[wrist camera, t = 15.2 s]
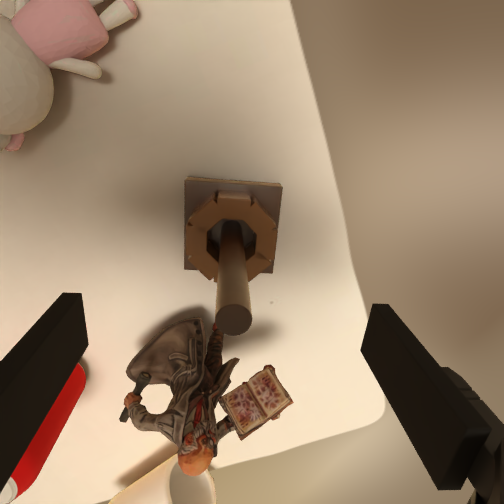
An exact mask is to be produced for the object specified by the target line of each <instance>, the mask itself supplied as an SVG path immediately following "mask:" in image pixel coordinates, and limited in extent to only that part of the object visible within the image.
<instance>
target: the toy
mask: <svg viewBox="0 0 504 504" xmlns="http://www.w3.org/2000/svg"><path fill="white" fill-rule="evenodd" d="M103 1H104V0H15V16H14V17H13V19H12V20H11V21H10V20H9V19H7V18H6V17H5V16H2V15H0V152H1V151H2V150H3V149H6V150H8V151H16V150H18V149H20V147H21V145H22V143H23V141H24V139H25V137H24V133H23V132H26V131H28V130H31V129H32V128H34V127H35V126H37V125H38V124H39V123H40V122H42V121H43V120H44V118H45V117H46V116H47V114H48V113H49V111H50V108H51V105H52V102H53V95H54V87H53V77H52V74H51V71H50V69H52V68H57V69H62V70H66V71H70V72H73V73H77V74H80V75H83V76H86V77H89V78H92V79H98V78H100V77H101V75H102V70H101V68H100V67H99V66H98V65H97V64H95V63H93V62H90V61H85V60H82V59H84V58H86V57H89V56H90V55H92V54H93V53H95V52H97V51H98V50H100V49H101V48H102V47H104V46H105V45H106V44H107V42H108V39H109V36H108V32H107V31H108V30H111V29H113V28H115V27H117V26H119V25H121V24H123V23H125V22H127V21H128V20H130V19H135V18H136V17H137V7H136V5H135V3H134V1H133V0H116V1H115V2H113V3H112V4H111V5H110V6H109V7H108V8H107V9H106V10H104V11H103V12H102V13H101V14H100V15H99V16H98V15H97V13H96V11H95V10H94V8H93V7H94V6H96V5H97V4H99V3H101V2H103Z"/></svg>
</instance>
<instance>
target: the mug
mask: <svg viewBox="0 0 504 504" xmlns="http://www.w3.org/2000/svg"><path fill="white" fill-rule="evenodd" d="M109 504H217V498H216V491H215V487H214V479H213V477H212V476H211V475H210V473H209V471H208V469H206V470H205V471H204V472H203V473H202V474H200V475H197V476H189V475H187V474H185V473H183V471H182V470H181V468H180V466H179V464H178V454H175V455H174V456H172V457H171V458H169V459H168V460H166V461H165V462H163V463H162V464H160V465H159V466H158V467H156V468H155V469H153V470H152V471H150V472H149V473H147V474H146V475H144V476H143V477H141V478H140V479H139V480H137V481H136V482H134V483H133V484H131V485H130V486H128V487H127V488H125V489H124V490H122V491H121V492H119V493H118V494H117V495H115V496H114V497H113V498H112V500H111V501H110V502H109Z"/></svg>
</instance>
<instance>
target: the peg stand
mask: <svg viewBox="0 0 504 504" xmlns="http://www.w3.org/2000/svg"><path fill="white" fill-rule="evenodd" d="M282 189H283V187H282V186H281V184H279V183H265V182H251V181H237V180H223V179H209V178H195V177H187V178H186V179H185V230H184V269H185V270H198V269H197V268H196V267H195V266H194V265H193V264H192V263H191V262H190V261H189V260H188V258H189V255H186V225H187V222H188V220H189V217H190V215H191V213H192V210H193V209H194V208H195V207H197V206H198V205H199V204H200V203H201V202H202V201H203V200H204V199H206V198H207V197H208V196H209V195H210V194H211V193H212V192H216V193H217V195H218V190H234V191H248V192H249V195H250V196H251V195H252V194H254V195H255V196H256V198H257V199H258V200H259V201H260V202H261V203H262V204H263V206H264V207H265V208H266V209H267V210H268V211H269V213H270V214H271V215H272V217H273V220H274V222H275V224H276V228H277V230H278V223H279V215H280V206H281V198H282ZM209 239H210V240H211V241H212V242H213V243H214V244H215V245H216V246H217V247H218V248H219V249H220V252H219V267H218V281H217V296H216V310H215V324H216V326H217V328H218V329H219V330H220V331H221V332H222V333H224V334H227V335H231V336H235V335H240V334H242V333H244V332H246V331H247V330H248V329H249V328H250V326H251V324H252V311H251V303H250V294H249V285H248V277H247V268H246V259H245V251H244V247H246V246H247V245H248V244H249V243H251V242H252V241H253V230H252V229H251V228H250V227H249V226H248V225H247V224H246V222H245V221H244V220H234V219H222V220H221V221H219V222H218V223H217V224H216V225H215V226H214V227H212V228H211V229H210V230H209ZM271 263H272V264H271V265H270V266H268V267H267V268H266V269H265V270H263V271H262V272H261V273H273V265H274V260H271Z"/></svg>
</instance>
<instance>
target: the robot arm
mask: <svg viewBox="0 0 504 504" xmlns="http://www.w3.org/2000/svg"><path fill="white" fill-rule="evenodd" d="M88 345H89V344H88V337H87V330H86V322H85V315H84V308H83V300H82V293H62V294H61V295H60V296H59V297H58V299H57V300H56V301H55V302H54V303H53V304H52V305H51V306H50V307H49V309H48V310H47V311H46V312H45V313H44V314H43V315H42V316H41V317H40V319H39V320H38V321H37V322H36V323H35V324H34V325H33V326H32V327H31V328H30V330H29V331H28V332H27V333H26V334H25V335H24V336H23V337H22V338H21V340H20V341H19V342H18V343H17V344H16V345H15V346H14V347H13V348H12V349H11V351H10V352H9V353H8V354H7V355H6V356H5V357H4V358H3V359H2V361H0V493H1V492H2V490H3V488H4V487H5V485H6V483H7V482H8V480H9V478H10V477H11V475H12V473H13V472H14V470H15V468H16V466H17V465H18V463H19V461H20V460H21V458H22V456H23V455H24V453H25V451H26V450H27V448H28V446H29V445H30V443H31V441H32V439H33V438H34V436H35V434H36V433H37V431H38V429H39V428H40V426H41V424H42V423H43V421H44V419H45V418H46V416H47V414H48V412H49V411H50V409H51V407H52V406H53V404H54V402H55V401H56V399H57V397H58V396H59V394H60V392H61V391H62V389H63V387H64V385H65V384H66V382H67V380H68V379H69V377H70V375H71V374H72V372H73V370H74V369H75V367H76V365H77V364H78V362H79V360H80V358H81V357H82V355H83V353H84V352H85V350H86V348H87V347H88ZM360 351H361V353H362V354H363V356H364V358H365V360H366V362H367V363H368V365H369V367H370V369H371V371H372V372H373V374H374V376H375V378H376V380H377V381H378V383H379V385H380V387H381V389H382V390H383V392H384V394H385V396H386V398H387V399H388V401H389V403H390V404H391V407H392V408H393V410H394V412H395V414H396V415H397V417H398V419H399V421H400V423H401V425H402V426H403V428H404V430H405V432H406V433H407V435H408V437H409V439H410V441H411V442H412V444H413V446H414V448H415V450H416V451H417V453H418V455H419V457H420V458H421V460H422V462H423V464H424V466H425V468H426V469H427V471H428V473H429V475H430V476H431V478H432V480H433V482H434V484H435V486H436V487H437V489H438V490H461V488H462V486H463V484H464V482H465V480H466V478H467V477H468V479H469V480H470V482H471V483H472V485H473V487H474V488H475V490H474V492H473V494H472V496H471V497H470V499H469V501H468V503H467V504H504V424H503V423H502V422H501V421H500V420H499V419H498V418H497V416H496V415H495V414H494V413H493V412H492V411H491V410H490V408H489V407H488V406H487V405H486V404H485V403H484V402H483V401H482V400H480V397H479V396H478V395H477V394H476V393H475V391H472V388H471V387H470V386H469V385H468V383H467V382H466V381H465V380H464V379H463V378H462V377H461V376H460V375H458V374H457V373H456V372H454V371H453V370H451V369H450V368H448V367H440V366H439V364H438V363H437V362H436V361H435V360H434V358H433V357H432V356H431V355H430V354H429V353H428V351H427V350H426V349H425V348H424V346H423V345H422V344H421V343H420V342H419V340H418V339H417V338H416V337H415V336H414V334H413V333H412V332H411V331H410V330H409V328H408V327H407V326H406V325H405V324H404V323H403V321H402V320H401V319H400V318H399V317H398V315H397V314H396V313H395V312H394V310H393V309H392V308H391V307H390V306H389V304H373V305H372V308H371V312H370V316H369V320H368V323H367V327H366V331H365V335H364V339H363V342H362V346H361V350H360Z"/></svg>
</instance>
